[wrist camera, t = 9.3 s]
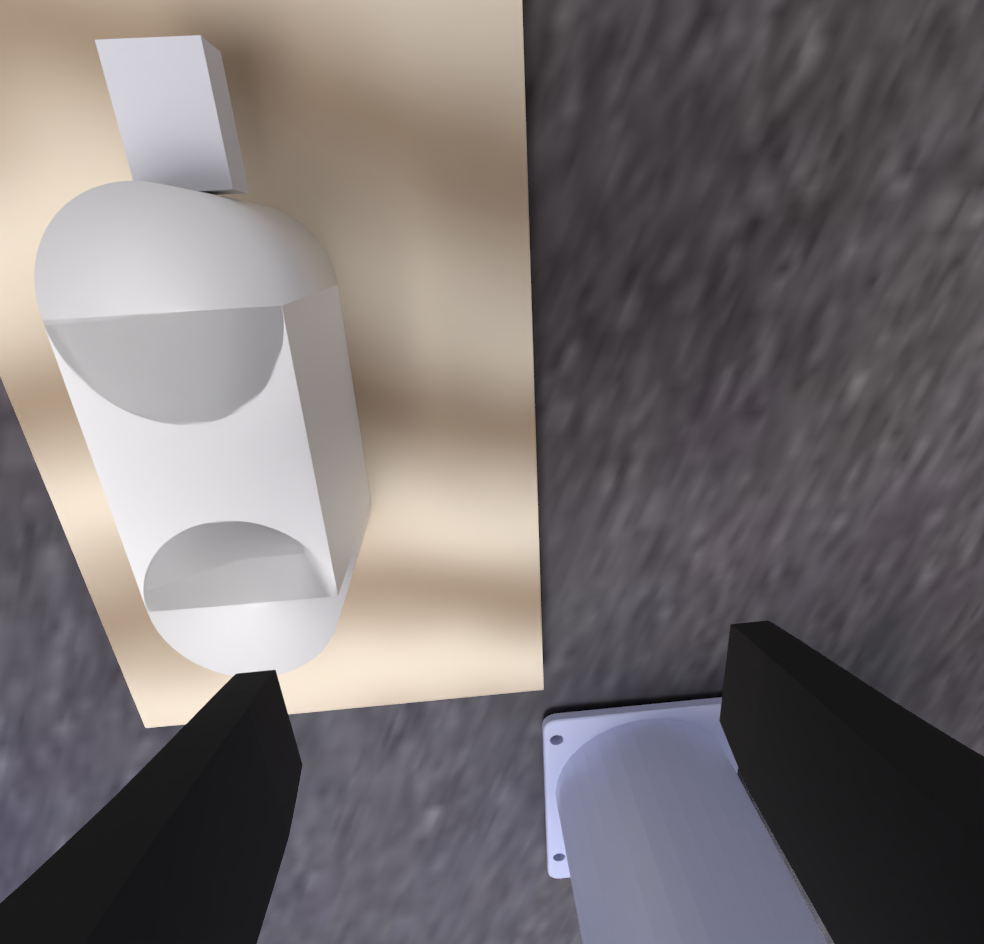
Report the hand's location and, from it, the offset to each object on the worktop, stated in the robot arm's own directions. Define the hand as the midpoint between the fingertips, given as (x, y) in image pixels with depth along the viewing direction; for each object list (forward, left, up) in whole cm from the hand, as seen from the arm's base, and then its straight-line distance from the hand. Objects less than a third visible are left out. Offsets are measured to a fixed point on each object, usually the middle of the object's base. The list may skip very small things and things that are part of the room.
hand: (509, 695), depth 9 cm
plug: (+4, +5, -8) cm, 11 cm away
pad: (+3, +5, -9) cm, 11 cm away
